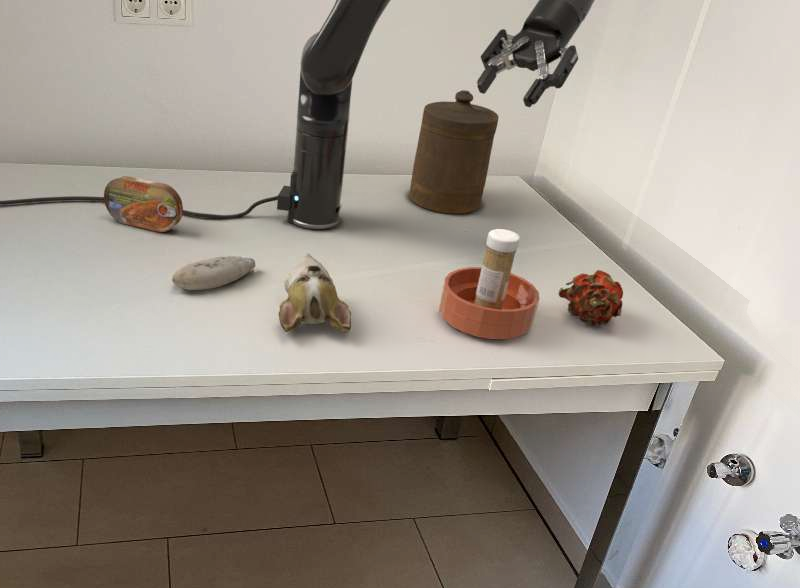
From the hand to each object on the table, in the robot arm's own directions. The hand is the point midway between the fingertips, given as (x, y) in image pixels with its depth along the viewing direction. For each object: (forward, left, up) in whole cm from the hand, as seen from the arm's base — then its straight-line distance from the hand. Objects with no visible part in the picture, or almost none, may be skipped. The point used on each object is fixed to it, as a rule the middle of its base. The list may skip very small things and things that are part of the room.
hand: (502, 96), depth 123 cm
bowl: (+3, -20, -29) cm, 35 cm away
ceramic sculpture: (-23, -28, -29) cm, 46 cm away
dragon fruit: (+19, -14, -29) cm, 37 cm away
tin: (-58, -4, -29) cm, 65 cm away
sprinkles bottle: (+3, -20, -28) cm, 34 cm away
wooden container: (-5, +29, -29) cm, 41 cm away
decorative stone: (-40, -21, -29) cm, 54 cm away
